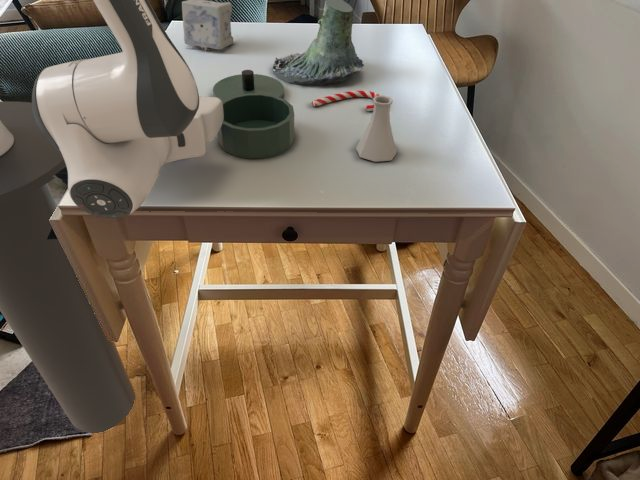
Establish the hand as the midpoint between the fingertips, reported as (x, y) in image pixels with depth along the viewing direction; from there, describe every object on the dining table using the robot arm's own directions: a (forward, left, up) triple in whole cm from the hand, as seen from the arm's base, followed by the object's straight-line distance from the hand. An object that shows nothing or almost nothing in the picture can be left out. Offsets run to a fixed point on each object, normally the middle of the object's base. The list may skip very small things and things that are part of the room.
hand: (167, 90), depth 79 cm
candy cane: (+33, +13, -10) cm, 37 cm away
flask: (+35, -5, -10) cm, 37 cm away
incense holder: (+4, +46, -10) cm, 47 cm away
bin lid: (+13, +19, -9) cm, 25 cm away
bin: (+14, +1, -10) cm, 17 cm away
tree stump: (+29, +30, -10) cm, 43 cm away
